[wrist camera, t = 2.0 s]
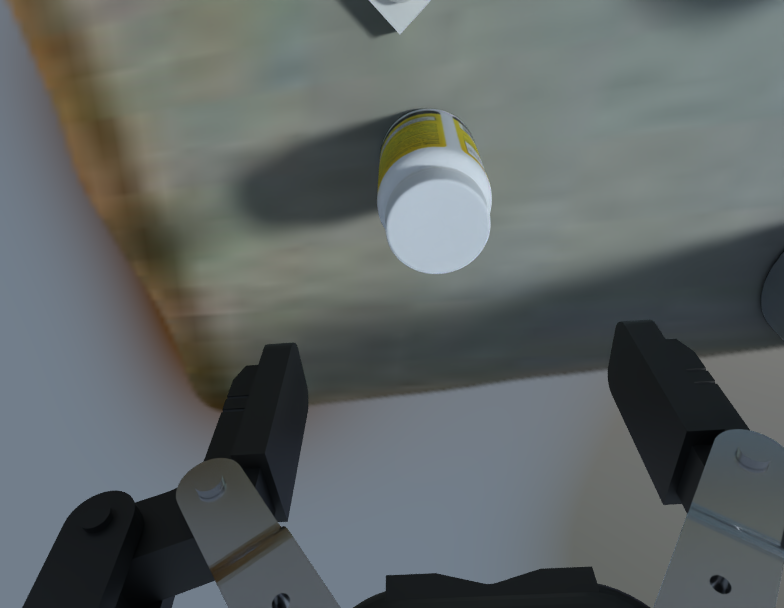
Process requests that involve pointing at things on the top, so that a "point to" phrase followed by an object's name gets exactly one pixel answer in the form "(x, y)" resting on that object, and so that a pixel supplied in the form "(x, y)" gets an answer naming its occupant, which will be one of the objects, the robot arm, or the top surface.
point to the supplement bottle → (433, 192)
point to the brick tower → (399, 11)
